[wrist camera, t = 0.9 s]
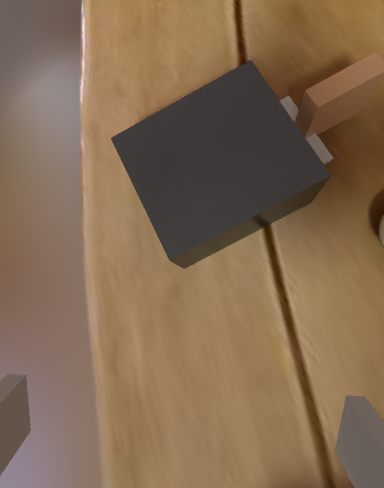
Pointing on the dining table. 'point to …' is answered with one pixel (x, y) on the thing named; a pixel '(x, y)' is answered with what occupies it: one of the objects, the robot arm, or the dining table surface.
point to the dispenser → (219, 165)
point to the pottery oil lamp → (381, 230)
